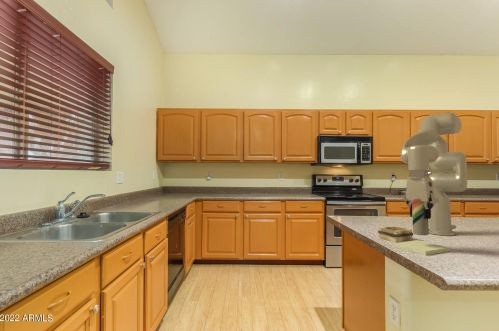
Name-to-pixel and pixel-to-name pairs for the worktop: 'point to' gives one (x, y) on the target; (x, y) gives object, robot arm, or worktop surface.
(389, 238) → the holder
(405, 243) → the board
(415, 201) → the lotion bottle
